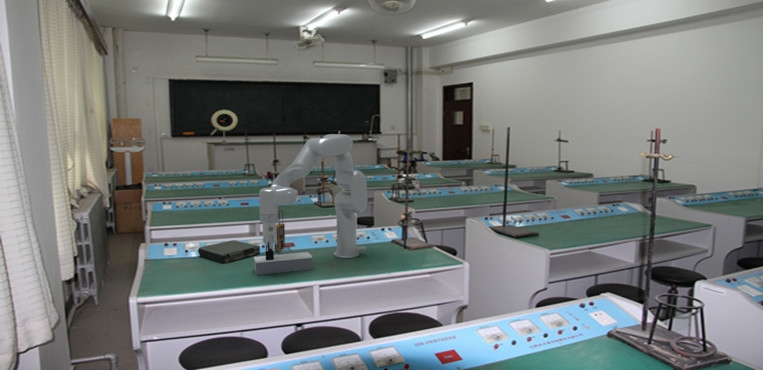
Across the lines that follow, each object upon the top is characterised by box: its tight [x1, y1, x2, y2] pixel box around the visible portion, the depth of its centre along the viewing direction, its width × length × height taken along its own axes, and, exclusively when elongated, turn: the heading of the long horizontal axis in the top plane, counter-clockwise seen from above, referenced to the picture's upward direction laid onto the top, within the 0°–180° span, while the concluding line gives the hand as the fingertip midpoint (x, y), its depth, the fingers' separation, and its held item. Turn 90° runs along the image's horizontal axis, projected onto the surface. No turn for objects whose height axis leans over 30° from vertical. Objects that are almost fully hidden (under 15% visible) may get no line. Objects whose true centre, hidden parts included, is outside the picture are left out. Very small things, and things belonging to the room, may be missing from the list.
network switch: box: [198, 239, 261, 264], centre depth 233 cm, size 23×23×5 cm
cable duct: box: [253, 257, 313, 276], centre depth 210 cm, size 24×7×5 cm, turn 111°
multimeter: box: [273, 210, 293, 254], centre depth 243 cm, size 15×10×20 cm
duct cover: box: [253, 251, 313, 263], centre depth 210 cm, size 24×9×1 cm, turn 111°
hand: (269, 259), depth 205 cm, fingers closed
